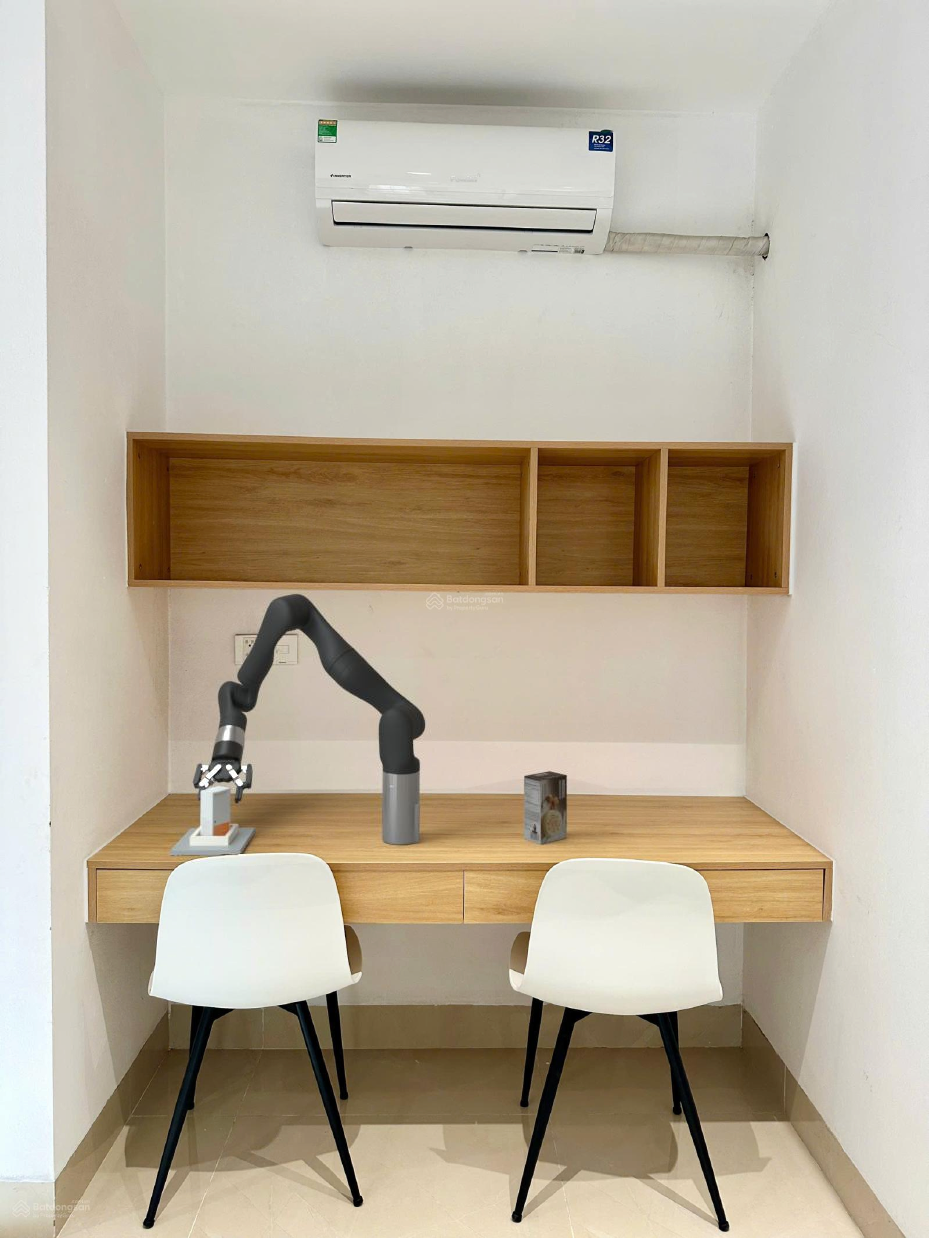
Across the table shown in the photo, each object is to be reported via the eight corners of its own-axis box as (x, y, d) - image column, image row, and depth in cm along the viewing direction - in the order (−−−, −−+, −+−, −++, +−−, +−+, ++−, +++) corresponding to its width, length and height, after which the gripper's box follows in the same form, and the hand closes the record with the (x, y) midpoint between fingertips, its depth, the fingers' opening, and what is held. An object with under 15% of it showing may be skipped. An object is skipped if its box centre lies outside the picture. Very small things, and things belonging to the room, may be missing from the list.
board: (255, 832, 215) (255, 819, 215) (240, 855, 197) (240, 841, 197) (190, 832, 214) (190, 820, 214) (170, 855, 196) (170, 842, 196)
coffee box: (549, 832, 217) (550, 770, 217) (567, 838, 212) (568, 774, 212) (522, 838, 212) (523, 775, 211) (540, 845, 207) (541, 779, 206)
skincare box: (212, 842, 202) (212, 792, 202) (199, 839, 204) (199, 790, 204) (231, 836, 207) (231, 787, 207) (219, 833, 210) (218, 785, 209)
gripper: (198, 738, 219) (187, 794, 208) (254, 739, 220) (246, 794, 209) (203, 754, 224) (192, 809, 214) (258, 755, 225) (250, 809, 215)
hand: (219, 801), depth 211 cm, fingers open, 8 cm apart
